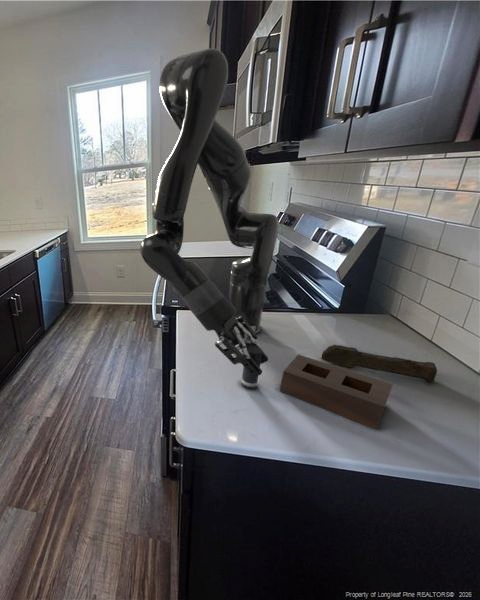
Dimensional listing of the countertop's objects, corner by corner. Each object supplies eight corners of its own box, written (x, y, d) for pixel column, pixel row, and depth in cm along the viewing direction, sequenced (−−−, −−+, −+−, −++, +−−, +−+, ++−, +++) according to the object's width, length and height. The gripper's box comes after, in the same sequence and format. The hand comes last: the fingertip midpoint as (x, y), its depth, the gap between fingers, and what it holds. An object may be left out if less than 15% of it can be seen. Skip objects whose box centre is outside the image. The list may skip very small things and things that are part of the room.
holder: (294, 373, 72) (298, 354, 71) (385, 405, 61) (393, 383, 59) (279, 390, 67) (283, 370, 65) (376, 429, 56) (384, 406, 54)
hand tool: (427, 375, 69) (434, 357, 67) (433, 385, 66) (441, 366, 64) (319, 355, 79) (324, 338, 77) (321, 363, 75) (325, 346, 74)
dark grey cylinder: (244, 379, 71) (249, 344, 68) (259, 385, 69) (265, 349, 66) (238, 385, 70) (243, 349, 66) (253, 391, 67) (259, 355, 64)
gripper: (210, 306, 62) (271, 378, 59) (231, 285, 72) (284, 346, 69) (182, 324, 67) (237, 391, 64) (206, 302, 77) (254, 359, 74)
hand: (261, 367), depth 66 cm, fingers open, 5 cm apart
